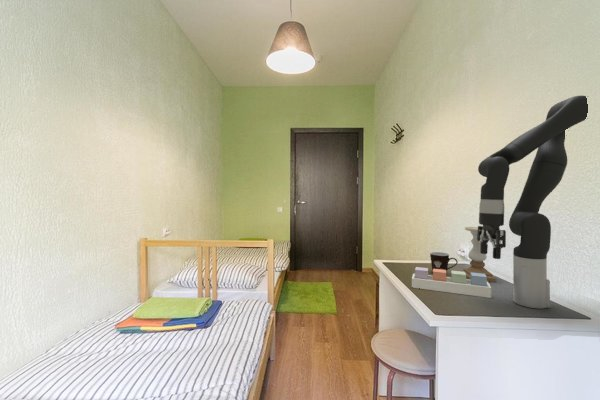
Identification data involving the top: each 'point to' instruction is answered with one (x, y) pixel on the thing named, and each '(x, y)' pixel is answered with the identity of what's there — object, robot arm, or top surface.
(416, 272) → the lavender block
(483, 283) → the light blue block
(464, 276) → the sage green key
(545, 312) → the top surface
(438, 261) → the coffee mug
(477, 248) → the candle holder
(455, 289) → the frame
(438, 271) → the terracotta key
